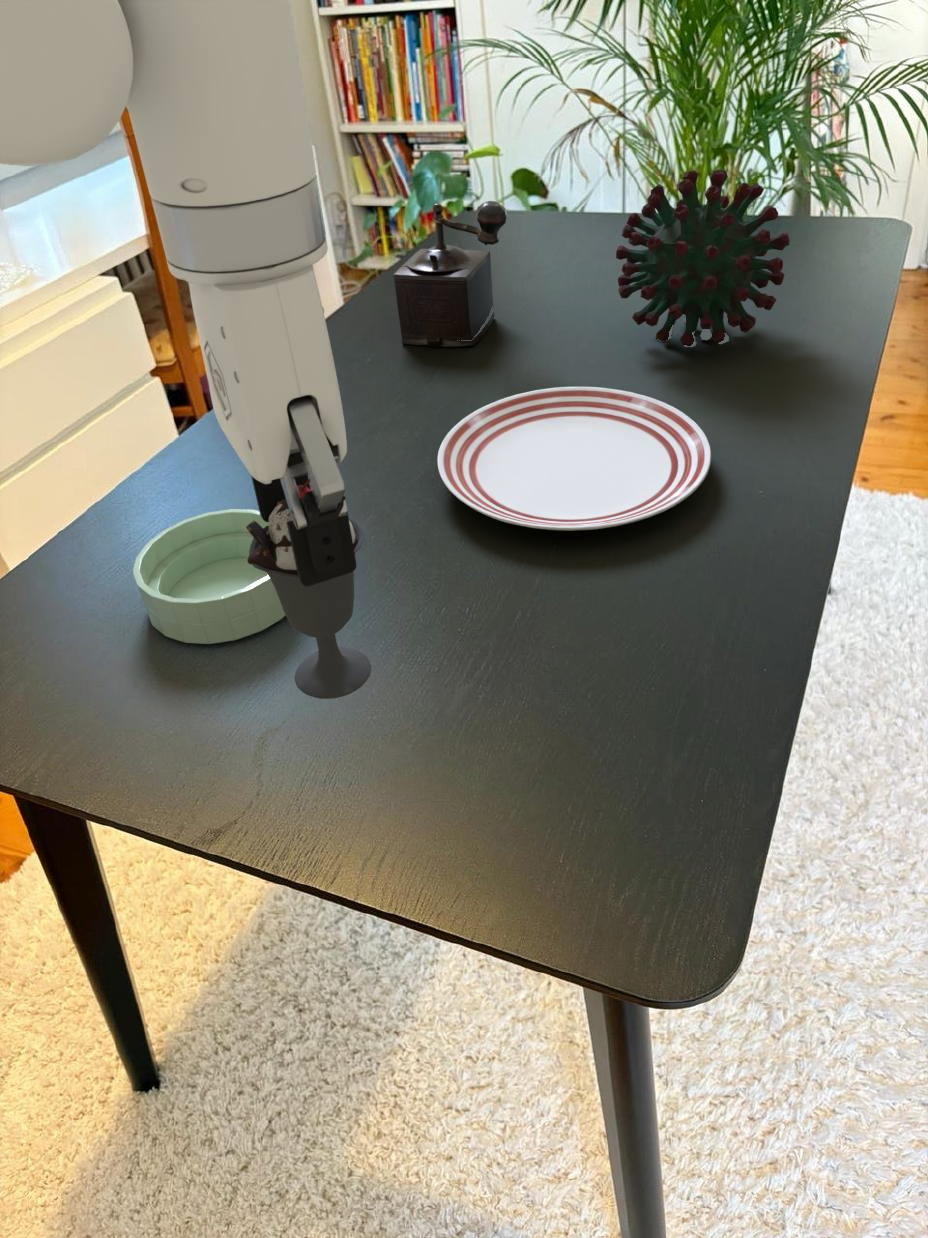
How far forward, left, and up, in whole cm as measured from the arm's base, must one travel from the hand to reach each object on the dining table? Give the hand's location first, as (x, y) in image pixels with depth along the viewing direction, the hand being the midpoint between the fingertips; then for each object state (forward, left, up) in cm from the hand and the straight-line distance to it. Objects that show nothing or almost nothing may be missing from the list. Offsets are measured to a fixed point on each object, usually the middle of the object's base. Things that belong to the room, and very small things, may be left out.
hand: (306, 541), depth 56 cm
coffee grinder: (+41, +69, -22) cm, 83 cm away
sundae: (0, 0, -10) cm, 10 cm away
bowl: (-3, +28, -21) cm, 35 cm away
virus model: (+64, +48, -22) cm, 83 cm away
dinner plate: (+34, +29, -22) cm, 50 cm away
